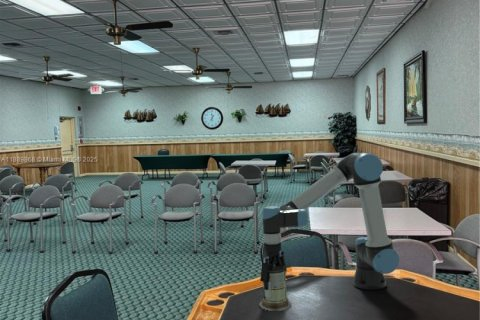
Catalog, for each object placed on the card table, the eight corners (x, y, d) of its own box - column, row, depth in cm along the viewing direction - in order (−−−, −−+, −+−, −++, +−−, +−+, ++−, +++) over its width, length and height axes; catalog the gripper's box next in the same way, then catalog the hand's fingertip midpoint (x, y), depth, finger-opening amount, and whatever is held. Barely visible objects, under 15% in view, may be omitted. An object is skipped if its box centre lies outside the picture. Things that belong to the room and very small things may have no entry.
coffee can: (258, 298, 192) (257, 267, 192) (277, 293, 198) (275, 262, 197) (272, 305, 183) (271, 272, 183) (291, 299, 189) (290, 267, 188)
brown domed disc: (288, 298, 198) (288, 292, 198) (293, 310, 184) (293, 304, 184) (257, 300, 197) (257, 294, 197) (260, 312, 183) (260, 306, 183)
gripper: (279, 236, 201) (281, 283, 202) (250, 247, 183) (252, 299, 184) (293, 237, 196) (295, 286, 197) (264, 249, 178) (267, 302, 179)
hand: (274, 292), depth 190 cm, fingers closed on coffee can, 10 cm apart
